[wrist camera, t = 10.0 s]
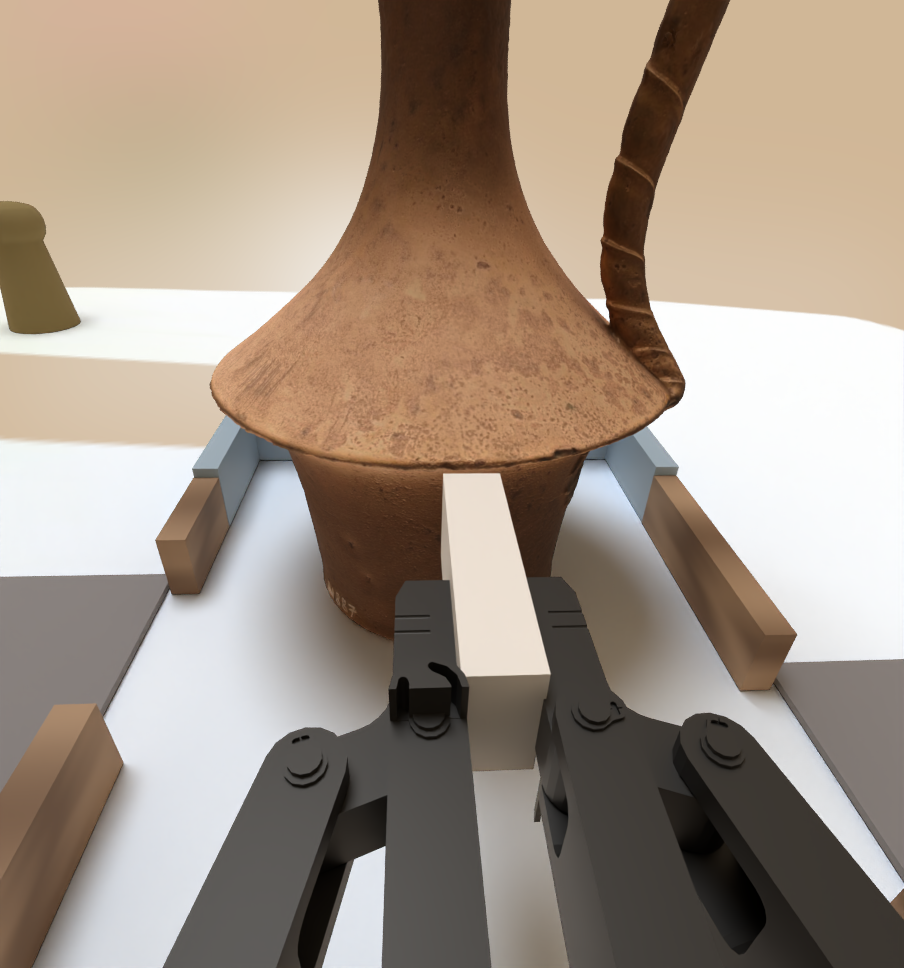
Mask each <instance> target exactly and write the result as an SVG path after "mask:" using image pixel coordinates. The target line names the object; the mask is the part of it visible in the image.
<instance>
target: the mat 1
mask: <svg viewBox="0 0 904 968" xmlns="http://www.w3.org/2000/svg"><path fill="white" fill-rule="evenodd" d="M169 588H170V587H169V584H168V580H167V577H166V574H148V575H87V576H25V577H0V793H1V791H2V789H3V788H4V786H5V785H6V783H7V781H8V780H9V778H10V776H11V775H12V773H13V772H14V770H15V768H16V767H17V765H18V763H19V762H20V760H21V758H22V757H23V755H24V754H25V752H26V750H27V749H28V747H29V745H30V744H31V742H32V741H33V739H34V737H35V736H36V734H37V732H38V731H39V729H40V727H41V726H42V724H43V723H44V721H45V719H46V718H47V716H48V714H49V713H50V711H51V710H52V708H53V706H54V705H63V704H94V703H96V704H97V706H98V708H99V710H100V713H101V715H102V717H103V715H104V713H105V711H106V709H107V707H108V705H109V703H110V701H111V699H112V697H113V696H114V694H115V692H116V690H117V688H118V686H119V684H120V682H121V680H122V678H123V676H124V674H125V672H126V671H127V669H128V667H129V665H130V663H131V661H132V659H133V657H134V655H135V653H136V651H137V649H138V647H139V645H140V644H141V642H142V640H143V638H144V636H145V634H146V632H147V630H148V628H149V626H150V624H151V622H152V620H153V619H154V617H155V615H156V613H157V611H158V609H159V607H160V605H161V603H162V601H163V599H164V597H165V595H166V593H167V592H168V590H169Z"/></svg>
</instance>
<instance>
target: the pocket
mask: <svg viewBox="0 0 904 968" xmlns="http://www.w3.org/2000/svg"><path fill="white" fill-rule="evenodd" d="M586 459H605V460H606V462H607V463H608V465H609V467H610V469H611V470H612V472H613V474H614V475H615V477H616V479H617V480H618V482H619V484H620V486H621V487H622V489H623V491H624V492H625V494H626V496H627V498H628V499H629V501H630V503H631V504H632V506H633V508H634V509H635V511H636V513H637V515H638V516H639V518H640V520H641V521H642V519H643V515H644V511H645V508H646V504H647V500H648V496H649V492H650V488H651V484H652V480H653V476H660V475H677V471H678V465H677V464H676V463H675V462H674V460H673V459H672V458H671V456H670V455H669V454H668V453H667V451H666V450H665V449H664V448H663V446H662V445H661V444H660V443H659V441H658V440H657V439H656V437H655V436H654V435H653V434H652V432H651V431H650V430H649V429H648V427H647V426H646V427H645V428H644V429H643V430H641V431H639V432H637V433H636V434H634V435H631V436H628V437H626V438H624V439H622V440H619V441H617V442H614V443H612V444H610V445H606V446H603V447H601V448H597V449H595V450H591V451H590V452H589V454H588V455H587V457H586ZM260 460H292V458H291V456H290V453H289V451H288V450H287V449H284V448H280V447H278V446H274V445H273V443H271V442H268V441H266V440H265V439H264V438H260V437H258V436H256V435H255V434H251V433H247V432H246V431H245V429H243V428H241V427H240V426H239V425H237V424H236V423H234V421H233V420H232V419H231V418H229V417H228V416H227V415H226V416H225V418H224V419H223V421H222V423H221V424H220V426H219V427H218V429H217V430H216V432H215V434H214V435H213V437H212V438H211V440H210V441H209V443H208V444H207V446H206V448H205V449H204V451H203V452H202V454H201V456H200V457H199V459H198V460H197V462H196V463H195V465H194V467H193V468H192V470H193V474H194V478H219V481H220V486H221V491H222V495H223V500H224V505H225V509H226V514H227V519H228V523H229V527H230V525H231V523H232V521H233V519H234V516H235V514H236V512H237V510H238V507H239V505H240V503H241V501H242V498H243V496H244V494H245V492H246V490H247V487H248V485H249V483H250V481H251V478H252V476H253V474H254V472H255V469H256V467H257V465H258V463H259V461H260Z"/></svg>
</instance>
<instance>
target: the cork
mask: <svg viewBox="0 0 904 968" xmlns="http://www.w3.org/2000/svg"><path fill="white" fill-rule="evenodd" d="M45 234H46V226H45V222H44V219H43V217H42V216H41V214H40V213H39V212H38V210H37V209H36V208H34V207H33V206H31V205H29V204H25V203H20V202H12V201H0V289H1V293H2V298H3V302H4V307H5V311H6V316H7V321H8V325H9V329H10V330H11V331H12V332H15V333H22V334H39V333H50V332H56V331H61V330H65V329H69V328H72V327H74V326H76V325H78V324H79V323H80V318H79V316H78V314H77V312H76V310H75V308H74V306H73V303H72V301H71V299H70V297H69V295H68V293H67V291H66V288H65V286H64V284H63V282H62V280H61V278H60V276H59V274H58V271H57V269H56V267H55V265H54V263H53V261H52V259H51V257H50V254H49V252H48V250H47V248H46V246H45V244H44V241H43V239H44V237H45Z"/></svg>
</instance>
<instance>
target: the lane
mask: <svg viewBox="0 0 904 968" xmlns="http://www.w3.org/2000/svg"><path fill="white" fill-rule="evenodd" d="M642 524H643V526H644V527H645V529H646V531H647V532H648V534H649V536H650V538H651V539H652V541H653V543H654V544H655V546H656V548H657V550H658V551H659V553H660V555H661V556H662V558H663V560H664V561H665V563H666V565H667V567H668V568H669V570H670V572H671V573H672V575H673V577H674V579H675V580H676V582H677V584H678V585H679V587H680V589H681V591H682V592H683V594H684V596H685V597H686V599H687V601H688V603H689V604H690V606H691V608H692V609H693V611H694V613H695V614H696V616H697V618H698V620H699V621H700V623H701V625H702V626H703V628H704V630H705V632H706V633H707V635H708V637H709V638H710V640H711V642H712V644H713V645H714V647H715V649H716V650H717V652H718V654H719V656H720V657H721V659H722V661H723V662H724V664H725V666H726V667H727V669H728V671H729V673H730V674H731V676H732V678H733V679H734V681H735V683H736V685H737V686H738V688H739V690H740V691H741V690H770V688H771V686H772V684H773V682H774V680H775V678H776V676H777V674H778V672H779V670H780V668H781V666H782V664H783V662H784V660H785V658H786V656H787V654H788V652H789V650H790V648H791V646H792V644H793V642H794V640H795V638H796V636H797V633H796V632H795V631H794V629H793V628H792V627H791V626H790V624H789V623H788V622H787V620H786V619H785V618H784V616H783V615H782V614H781V612H780V611H779V610H778V608H777V607H776V606H775V605H774V603H773V602H772V601H771V599H770V598H769V597H768V595H767V594H766V593H765V591H764V590H763V589H762V587H761V586H760V585H759V584H758V582H757V581H756V580H755V578H754V577H753V576H752V574H751V573H750V572H749V570H748V569H747V568H746V566H745V565H744V564H743V563H742V561H741V560H740V559H739V557H738V556H737V555H736V553H735V552H734V551H733V549H732V548H731V547H730V545H729V544H728V543H727V542H726V540H725V539H724V538H723V536H722V535H721V534H720V532H719V531H718V530H717V528H716V527H715V526H714V524H713V523H712V522H711V521H710V519H709V518H708V517H707V515H706V514H705V513H704V511H703V510H702V509H701V507H700V506H699V505H698V503H697V502H696V501H695V500H694V498H693V497H692V496H691V494H690V493H689V492H688V490H687V489H686V488H685V486H684V485H683V484H682V482H681V481H680V480H679V479H678V477H677V476H676V475H660V476H653V480H652V484H651V488H650V492H649V496H648V500H647V504H646V508H645V511H644V515H643V519H642ZM228 529H229V523H228V519H227V514H226V509H225V505H224V500H223V495H222V491H221V486H220V481H219V478H193V480H192V481H191V483H190V484H189V486H188V488H187V489H186V491H185V493H184V494H183V496H182V498H181V499H180V501H179V502H178V504H177V506H176V507H175V509H174V511H173V512H172V514H171V515H170V517H169V519H168V520H167V522H166V524H165V525H164V527H163V528H162V530H161V532H160V533H159V535H158V537H157V538H156V540H155V541H156V544H157V548H158V551H159V554H160V557H161V561H162V564H163V567H164V571H165V574H166V577H167V580H168V584H169V587H170V590H171V594H199V593H200V591H201V589H202V587H203V584H204V582H205V580H206V578H207V575H208V573H209V571H210V569H211V567H212V564H213V562H214V560H215V558H216V555H217V553H218V551H219V549H220V547H221V544H222V542H223V540H224V538H225V535H226V533H227V531H228ZM122 765H123V760H122V758H121V756H120V754H119V752H118V749H117V747H116V745H115V743H114V741H113V739H112V736H111V734H110V732H109V730H108V728H107V726H106V723H105V721H104V719H103V717H102V715H101V713H100V710H99V708H98V706H97V704H96V703H94V704H63V705H54V706H53V708H52V710H51V711H50V713H49V714H48V716H47V718H46V719H45V721H44V723H43V724H42V726H41V727H40V729H39V731H38V732H37V734H36V736H35V737H34V739H33V741H32V742H31V744H30V745H29V747H28V749H27V750H26V752H25V754H24V755H23V757H22V758H21V760H20V762H19V763H18V765H17V767H16V768H15V770H14V772H13V773H12V775H11V776H10V778H9V780H8V781H7V783H6V785H5V786H4V788H3V789H2V791H1V793H0V968H31V967H32V965H33V963H34V961H35V958H36V956H37V954H38V952H39V950H40V947H41V945H42V943H43V941H44V938H45V936H46V934H47V932H48V930H49V927H50V925H51V923H52V921H53V918H54V916H55V914H56V912H57V910H58V907H59V905H60V903H61V901H62V898H63V896H64V894H65V892H66V889H67V887H68V885H69V883H70V881H71V878H72V876H73V874H74V872H75V869H76V867H77V865H78V863H79V861H80V858H81V856H82V854H83V852H84V849H85V847H86V845H87V843H88V840H89V838H90V836H91V834H92V832H93V829H94V827H95V825H96V823H97V820H98V818H99V816H100V814H101V812H102V809H103V807H104V805H105V803H106V800H107V798H108V796H109V794H110V791H111V789H112V787H113V785H114V783H115V780H116V778H117V776H118V774H119V771H120V769H121V767H122ZM890 904H891V905H892V906H893V907H894V909H895V910H896V911H897V912H898V913H899V915H900V916H901V917H902V918H903V919H904V889H903V890H902V891H901V892H900V893H899V894H898V895H897V896H896V897H895V898H894V899H893V901H892V902H891V903H890Z"/></svg>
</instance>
